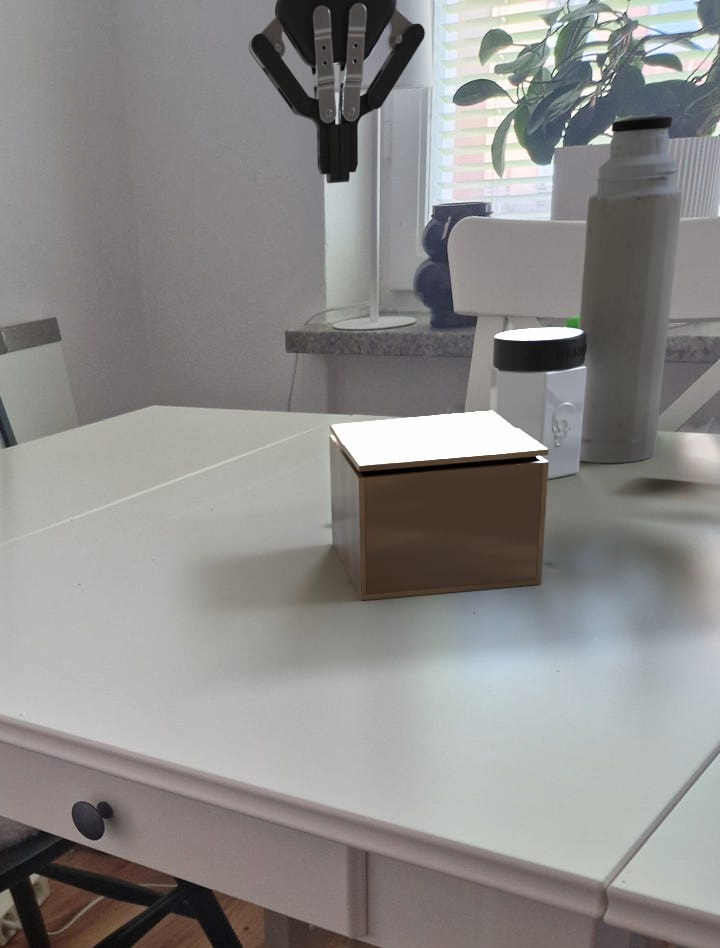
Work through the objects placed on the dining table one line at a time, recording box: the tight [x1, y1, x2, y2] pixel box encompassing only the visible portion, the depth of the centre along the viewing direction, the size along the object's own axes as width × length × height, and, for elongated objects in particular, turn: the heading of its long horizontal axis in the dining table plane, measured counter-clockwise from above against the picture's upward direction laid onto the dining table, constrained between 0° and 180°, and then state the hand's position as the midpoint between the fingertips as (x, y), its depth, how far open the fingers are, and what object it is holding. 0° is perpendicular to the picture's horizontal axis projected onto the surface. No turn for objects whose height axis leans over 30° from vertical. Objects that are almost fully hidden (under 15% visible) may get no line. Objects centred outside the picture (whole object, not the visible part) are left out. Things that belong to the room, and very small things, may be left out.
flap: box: [329, 410, 515, 451], centre depth 87 cm, size 7×13×1 cm, turn 94°
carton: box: [328, 429, 549, 601], centre depth 86 cm, size 15×13×9 cm
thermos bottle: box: [579, 115, 683, 464], centre depth 107 cm, size 8×8×28 cm
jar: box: [489, 327, 587, 481], centre depth 107 cm, size 9×8×12 cm
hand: (338, 182), depth 87 cm, fingers closed
